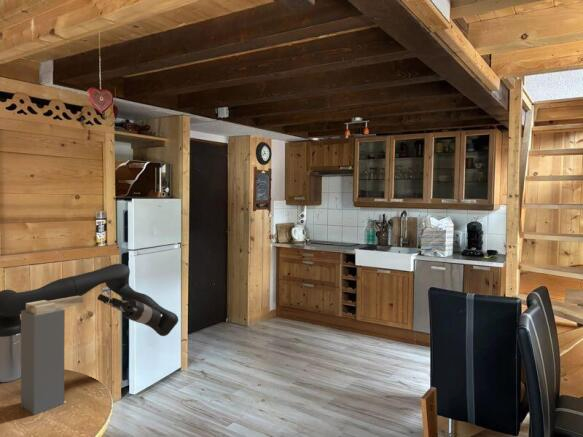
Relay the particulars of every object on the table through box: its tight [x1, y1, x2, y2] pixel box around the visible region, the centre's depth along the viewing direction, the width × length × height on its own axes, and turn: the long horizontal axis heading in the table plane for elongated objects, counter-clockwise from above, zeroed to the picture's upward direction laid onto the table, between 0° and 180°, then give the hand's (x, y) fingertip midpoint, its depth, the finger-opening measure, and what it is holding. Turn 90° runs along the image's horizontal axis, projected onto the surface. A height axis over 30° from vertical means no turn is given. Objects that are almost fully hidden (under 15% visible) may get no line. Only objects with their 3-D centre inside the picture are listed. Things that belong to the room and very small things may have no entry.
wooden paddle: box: [26, 296, 84, 315], centre depth 147 cm, size 7×16×2 cm, turn 145°
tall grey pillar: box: [20, 308, 66, 416], centre depth 144 cm, size 9×10×32 cm
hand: (105, 298), depth 162 cm, fingers open, 8 cm apart
